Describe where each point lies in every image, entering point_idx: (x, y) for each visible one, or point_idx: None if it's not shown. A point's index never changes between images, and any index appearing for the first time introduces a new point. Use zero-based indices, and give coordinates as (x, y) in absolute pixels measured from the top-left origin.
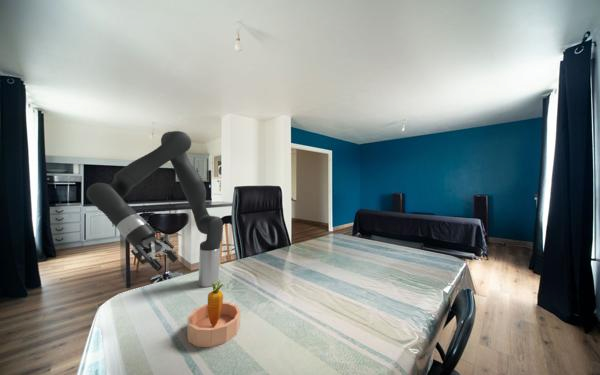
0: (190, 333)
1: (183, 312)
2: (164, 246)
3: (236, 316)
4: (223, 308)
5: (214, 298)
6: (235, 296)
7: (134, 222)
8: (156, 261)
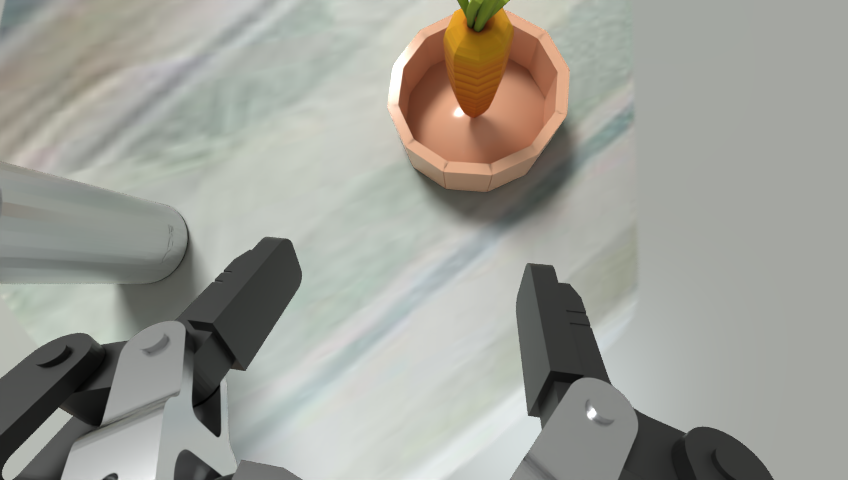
0: (539, 154)
1: (370, 252)
2: (164, 447)
3: None
4: (404, 93)
5: (511, 27)
6: (276, 108)
7: None
8: (572, 340)
